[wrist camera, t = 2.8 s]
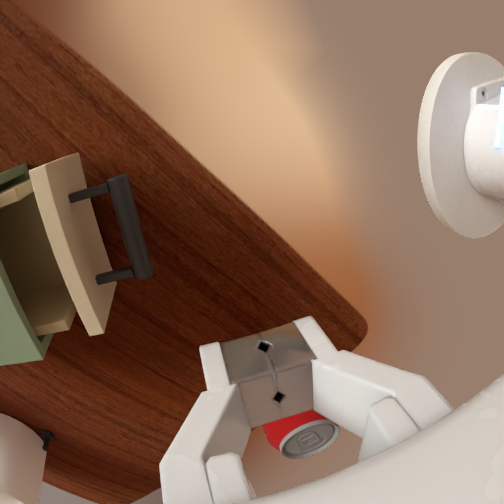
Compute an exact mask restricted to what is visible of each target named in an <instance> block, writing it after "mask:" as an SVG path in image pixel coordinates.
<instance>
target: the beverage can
mask: <svg viewBox="0 0 504 504" xmlns="http://www.w3.org/2000/svg"><path fill="white" fill-rule="evenodd" d="M262 426H263V429H264V431H265V434H266V436H267V439H268V442H269V443H270V444H271V445H272V446H273V447H275V448H276V449H278V450H279V451H280V452H281V453H282V455H283V456H285V457H287V458H292V459H296V458H297V459H298V458H304V457H308V456H311V455H314V454H316V453H319V452H320V451H322V450H324V449H326V448H327V447H328V446H330V445H331V444H332V443H333V442H334V441H335V440H336V439H337V437H338V435H339V432H340V430H339V425H338V424H336V423H334V422H332V421H331V420H329V419H327V418H326V417H324V416H322V415H321V414H319V413H317V412H316V411H314V409H312V410H309V411H306V412H302V413H299V414H296V415H293V416H289V417H286V418H282V419H279V420H276V421H273V422H270V423H267V424H264V425H262Z"/></svg>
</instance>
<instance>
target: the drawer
mask: <svg viewBox="0 0 504 504" xmlns="http://www.w3.org/2000/svg"><path fill="white" fill-rule="evenodd" d="M29 174H30V179H28V180H25V181H22V182H20V183H17V184H15V185H12V186H10V187H7V188H5V189H3V190H0V259H1V261H2V264H3V266H4V269H5V271H6V274H7V276H8V278H9V281H10V283H11V285H12V288H13V290H14V292H15V294H16V296H17V298H18V301H19V303H20V305H21V307H22V309H23V311H24V313H25V315H26V317H27V319H28V321H29V323H30V325H31V327H32V328H33V330H34V332H35V334H36V336H40V335H46V334H51V333H56V332H61V331H66V330H69V329H70V327H71V324H72V322H73V319H74V317H75V314H76V312H77V311H78V313H79V315H80V318H81V320H82V322H83V324H84V326H85V328H86V330H87V332H88V334H89V336H94V335H99V334H103V333H105V328H106V324H107V320H108V316H109V311H110V307H111V304H112V300H113V296H114V292H115V288H116V285H117V282H116V281H118V280H122V279H126V278H131V277H134V275H135V278H136V279H138V280H143V279H147V278H149V277H151V276H152V275H153V274H154V269H153V266H152V263H151V259H150V256H149V252H148V249H147V245H146V242H145V238H144V235H143V231H142V228H141V224H140V220H139V216H138V213H137V209H136V205H135V201H134V197H133V193H132V189H131V185H130V180H129V176H128V174H121V175H117V176H114V177H112V178H109V179H108V180H107V182H106V183H102V184H99V185H96V186H92V187H89V188H87V185H86V181H85V177H84V173H83V169H82V165H81V160H80V156H79V153H75V154H72V155H69V156H66V157H63V158H60V159H57V160H55V161H52V162H49V163H47V164H44V165H42V166H39V167H37V168H34V169H32V170H29ZM109 192H110V194H111V198H112V202H113V205H114V209H115V213H116V216H117V220H118V223H119V227H120V230H121V234H122V237H123V241H124V244H125V247H126V250H127V254H128V257H129V260H130V263H131V266H129V267H125V268H121V269H117V270H113V271H112V268H111V265H110V262H109V259H108V256H107V253H106V250H105V247H104V244H103V241H102V237H101V234H100V231H99V228H98V224H97V221H96V218H95V214H94V211H93V207H92V204H91V200H90V198H91V197H94V196H98V195H101V194H105V193H109Z"/></svg>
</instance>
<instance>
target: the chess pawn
mask: <svg viewBox="0 0 504 504" xmlns="http://www.w3.org/2000/svg"><path fill="white" fill-rule="evenodd" d="M41 435H42V437H43V439H44V442H43V446H42V449H43V450H44V451H48V449H49V448H48V442H50V441H52V440H53V438H54V435H53V434H52V433H51V432H50V431H46V430H43V431H41Z"/></svg>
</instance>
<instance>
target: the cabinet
mask: <svg viewBox="0 0 504 504" xmlns="http://www.w3.org/2000/svg"><path fill="white" fill-rule="evenodd" d="M28 179H30V175H29V171H28V167H27V164H23V165H20V166H18V167H15V168H12V169H10V170H7V171H4V172H2V173H0V190H3V189H5V188H7V187H10V186H12V185H15V184H17V183H20V182H22V181H25V180H28ZM53 334H54V333H51V334H46V335H40V336H36V334H35V332H34V330H33V328H32V327H31V325H30V323H29V321H28V319H27V317H26V315H25V313H24V311H23V309H22V307H21V305H20V303H19V301H18V298H17V296H16V294H15V292H14V290H13V288H12V285H11V283H10V281H9V278H8V276H7V274H6V271H5V269H4V266H3V264H2V261H1V259H0V366H2V365H10V364H17V363H24V362H31V361H37V360H43V359H44V357H45V354H46V351H47V349H48V346H49V344H50V341H51V339H52V336H53Z"/></svg>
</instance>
